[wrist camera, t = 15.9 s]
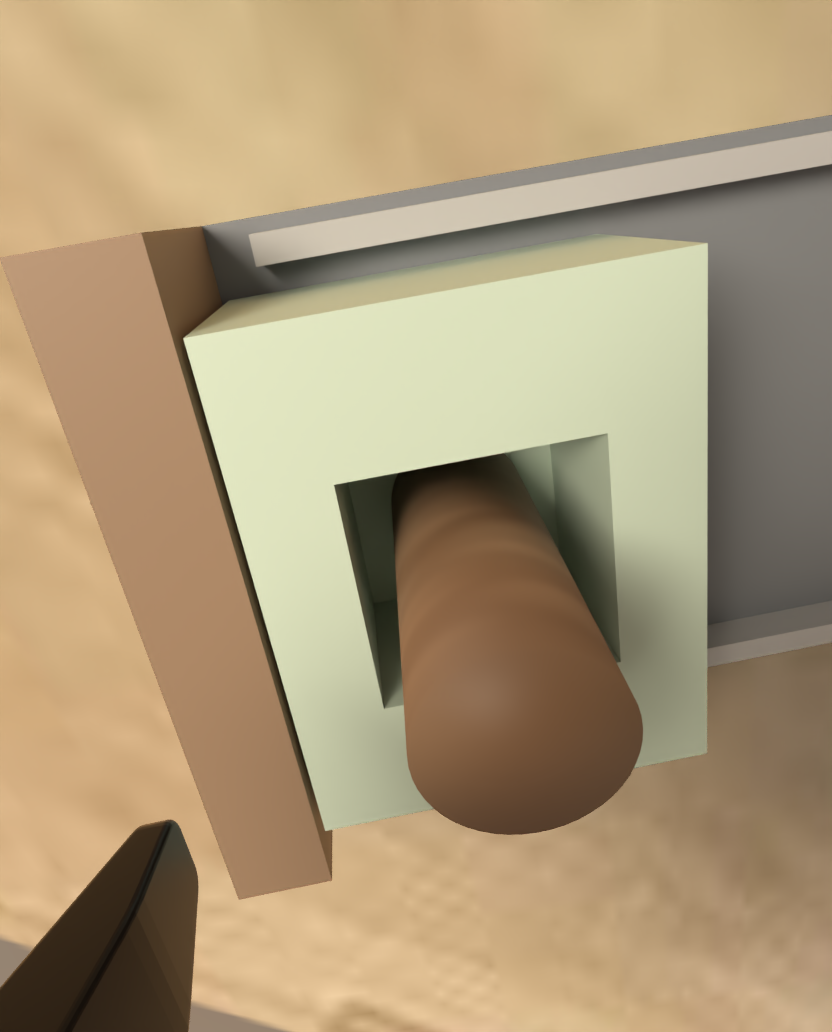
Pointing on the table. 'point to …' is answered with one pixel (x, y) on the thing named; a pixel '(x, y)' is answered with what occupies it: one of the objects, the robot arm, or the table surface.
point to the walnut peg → (501, 658)
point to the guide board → (394, 246)
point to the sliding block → (462, 436)
